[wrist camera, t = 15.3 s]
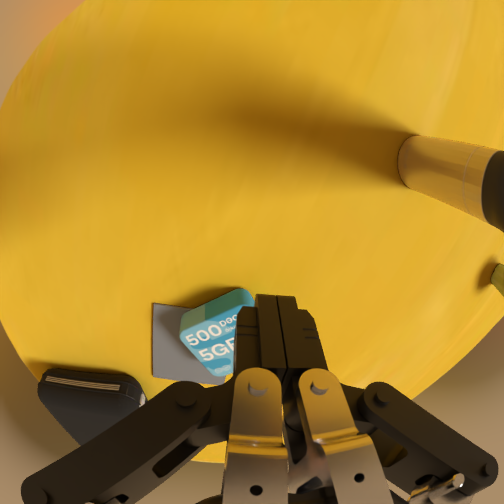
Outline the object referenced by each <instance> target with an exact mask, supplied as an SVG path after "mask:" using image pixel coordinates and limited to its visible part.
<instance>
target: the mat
mask: <svg viewBox="0 0 504 504" xmlns="http://www.w3.org/2000/svg"><path fill="white" fill-rule="evenodd" d="M190 310H192V308H185V307H178V306H171V305H165V304H159V303H154V311H153V377H157V378H164V379H170V380H178V381H192V382H196V383H203V384H214V385H221V384H224V381H225V377H226V375H225V376H214V375H212V374H211V373H210V372H209V371H208V370H207V369H206V368H205V367H204V366H203V364H202V363H201V362H200V361H199V360H198V359H197V358H196V357H195V356H194V355H193V354H192V352H191V351H190V350H189V349H188V348H187V347H186V346H185V345H184V343H183V342H182V341H181V340H180V338H179V332H180V324H181V318H182V315H183V314H184V313H186V312H188V311H190Z"/></svg>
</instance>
